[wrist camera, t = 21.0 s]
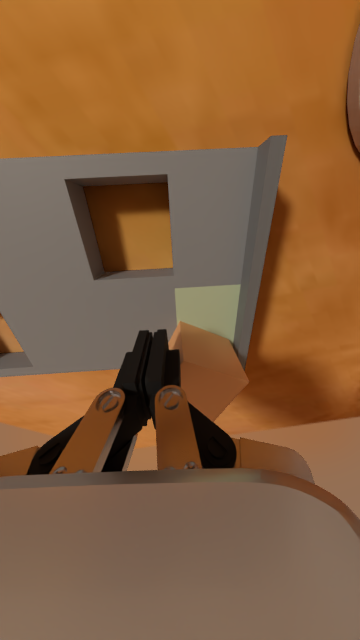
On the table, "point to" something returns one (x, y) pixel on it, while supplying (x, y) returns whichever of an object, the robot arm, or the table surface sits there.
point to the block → (207, 369)
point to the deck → (135, 285)
